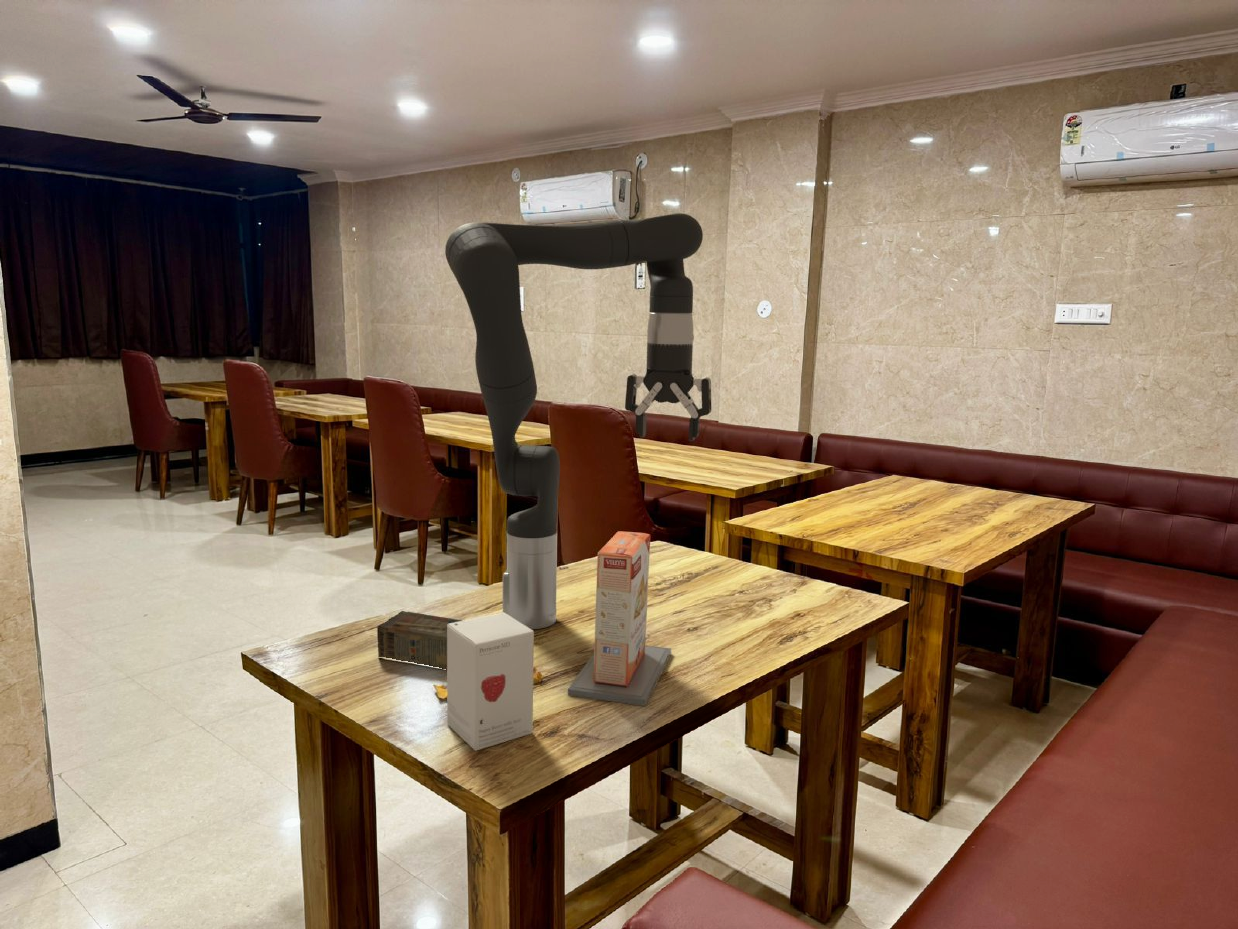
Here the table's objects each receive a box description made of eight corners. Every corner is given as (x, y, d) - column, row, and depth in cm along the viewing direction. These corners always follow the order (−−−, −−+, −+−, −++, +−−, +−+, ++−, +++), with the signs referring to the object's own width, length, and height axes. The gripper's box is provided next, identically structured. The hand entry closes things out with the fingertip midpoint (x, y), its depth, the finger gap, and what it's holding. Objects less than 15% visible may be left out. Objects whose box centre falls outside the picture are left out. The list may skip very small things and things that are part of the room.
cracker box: (630, 688, 123) (634, 555, 119) (591, 684, 124) (594, 552, 121) (648, 653, 137) (652, 532, 133) (613, 648, 138) (616, 529, 134)
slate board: (645, 706, 120) (645, 699, 120) (567, 695, 123) (567, 688, 123) (671, 654, 139) (671, 648, 139) (603, 645, 142) (603, 639, 142)
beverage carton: (480, 678, 128) (480, 639, 127) (374, 661, 134) (373, 623, 133) (502, 659, 136) (502, 621, 135) (401, 643, 141) (400, 607, 140)
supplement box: (474, 753, 106) (473, 644, 103) (445, 725, 113) (444, 622, 110) (535, 734, 111) (535, 630, 109) (504, 708, 118) (504, 610, 116)
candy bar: (536, 674, 131) (536, 663, 130) (545, 685, 127) (545, 674, 127) (431, 693, 123) (431, 681, 123) (438, 705, 120) (438, 693, 119)
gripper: (622, 340, 132) (620, 439, 135) (709, 343, 128) (705, 444, 131) (633, 338, 139) (631, 432, 142) (716, 341, 135) (712, 437, 138)
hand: (667, 438), depth 137 cm, fingers open, 8 cm apart
